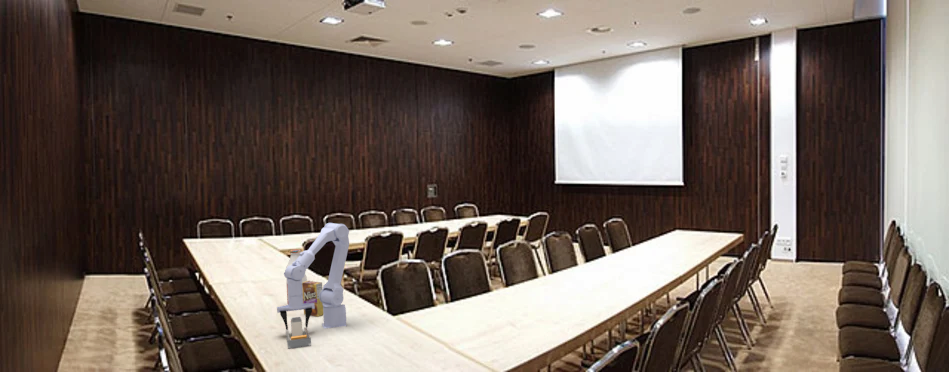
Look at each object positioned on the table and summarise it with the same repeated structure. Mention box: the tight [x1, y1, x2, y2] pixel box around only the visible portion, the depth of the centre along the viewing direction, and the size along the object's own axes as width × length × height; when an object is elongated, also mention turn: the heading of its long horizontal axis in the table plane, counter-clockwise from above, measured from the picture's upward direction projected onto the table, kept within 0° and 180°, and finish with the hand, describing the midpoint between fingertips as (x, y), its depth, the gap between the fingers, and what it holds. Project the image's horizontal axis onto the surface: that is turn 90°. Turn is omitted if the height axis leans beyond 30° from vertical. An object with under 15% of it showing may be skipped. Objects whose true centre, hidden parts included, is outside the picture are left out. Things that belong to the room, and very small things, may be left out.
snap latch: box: [290, 334, 307, 340], centre depth 228 cm, size 6×2×3 cm, turn 110°
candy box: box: [302, 280, 323, 318], centre depth 271 cm, size 9×4×15 cm, turn 60°
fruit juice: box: [285, 248, 308, 305], centre depth 285 cm, size 9×9×28 cm
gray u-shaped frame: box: [285, 326, 312, 350], centre depth 235 cm, size 11×22×4 cm, turn 20°
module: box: [290, 316, 304, 337], centre depth 240 cm, size 4×7×6 cm, turn 19°
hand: (296, 327), depth 240 cm, fingers open, 7 cm apart
